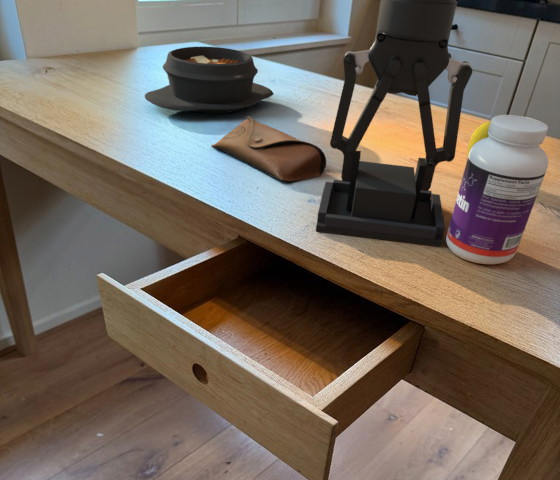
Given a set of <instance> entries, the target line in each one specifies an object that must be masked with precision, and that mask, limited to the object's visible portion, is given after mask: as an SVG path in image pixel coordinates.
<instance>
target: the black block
mask: <svg viewBox="0 0 560 480" xmlns="http://www.w3.org/2000/svg"><path fill="white" fill-rule="evenodd" d="M415 199H416V185H415V167H414V166H406V165H397V164H389V163H382V162H381V163H379V162H372V161H362V160H360V162H359V169H358V175H357V180H356V187H355V193H354V200H353V206H352V213H351V217H359V218H367V219H375V220H384V221H392V222H400V223H408V224H410V221H411V217H412V213H413V208H414V204H415Z"/></svg>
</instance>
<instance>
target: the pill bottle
mask: <svg viewBox="0 0 560 480" xmlns="http://www.w3.org/2000/svg"><path fill="white" fill-rule="evenodd" d="M490 121H491V123H490V126H489V130H488V135H489V137H488V138H484V139H482V140H480V141H478V142H476V143H475V144H474V145H473V146H472V148H471V150H470V152H469V156H468V158H467V159H466V163H465V166H464V170H463V174H462V178H461V180H460V181H461V182H460V185H459V189H458V192H457V196H456V200H455V204H454V207H453V210H452V215H451V217H450V221H449V225H448V229H447V233H446V238H445V243H446V245H447V247H448V248H449V250H450V251H451V252H452V253H453V254H454V255H456V256H457V257H459V258H460V259H462V260H465V261H468V262H471V263H476V264H481V265H498V264H499V265H500V264H504V263H506V262H508V261H510V260H511V259H513V257H514V256H516V254H517V252H518V249H519V246H520V244H521V240H522V238H523V235H524V233H525V229H526V227H527V224H528V221H529V219H530V216H531V214H532V211H533V208H534V205H535V202H536V199H537V197H538V195H539V191H540V189H541V186H542V184H543V181H544V178H545V175H546V173H547V170H548V167H549V157H548V155H547V153H546V151H545V150H544V149H543V148H542V147H540V146H541V145H542V144H543V143H544V141H545V139H546V136H547V132H548V130H549V127H548V125H547V124H546V123H544V122H543V121H540V120H537V119H535V118H533V117H532V118H531V117H527V116H522V115H515V114H499V115H495V116H493V117H492V118H491V120H490Z"/></svg>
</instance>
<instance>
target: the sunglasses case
mask: <svg viewBox="0 0 560 480" xmlns="http://www.w3.org/2000/svg"><path fill="white" fill-rule="evenodd" d="M245 117H246V118H245V120H243V121H242V122H240V123H239V124H238V125H237V126H235V128H232V130H231V131H229V132H227V134H225V135H224V136H223V137H221V138H220V139H219V140H218V141H217V142H216V143H214V144H211V145H210V147H211V148H214V149H216V150H219V151H220V152H223V153H226V154H228V155H229V156H231V157H233V158H235V159H237V160H238V161H240V162H243V163H245V164H247V165H248V166H250V167H251V168H253V169H254V170H257V171H258V172H261V173H263V174H265V175H267V176H269V177H271V178H274V179H277V180H279V181H281V182H287V183H289V182H301V181H305V180H309V179H313V178H317V177H321V175H322V174H324V172H325V170H326V167H327V158H326V157H327V156H326V154H325V152H324V151H323V150H322V149H321V148H320V147H319V146H317V145H316V144H313V143H311V142H308V141H304V140H301V139H298V138H296V137H294V136H292V135H290V134H288V133H286V132H283V131H281V130H279V129H277V128H274V127H271V126H269V125H266V124H264V123H262V122H260V121H257V120H255V119H253V118H252V117H251V116H249V115H246V116H245Z"/></svg>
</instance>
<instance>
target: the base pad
mask: <svg viewBox="0 0 560 480" xmlns="http://www.w3.org/2000/svg"><path fill="white" fill-rule="evenodd" d="M349 186H350V182H345V181H342V179H341V180H340V179H333V180H332V181H325V182H324V187H323V190H322V195H321V199H320V203H319V207H318V210H317V211H318V212H317V219H316V220H317V221H316V225H315V232H318V233H326V234H333V235H334V234H335V235H344V236H351V237H358V238H367V239H376V240H382V241H391V242H399V243H407V244H416V245H424V246H430V247H431V246H433V247H443V243H444V234H445V231H446V225H445V219H444V212H443V206H442V201H441V195H440V194H436V193H433V192H432V190H428V191H423V190H421V191H420V195H419V200H418V204H417V208H416V213H415V217H414V219H411V221H410V224H408V223H400V222H392V221H384V220H375V219H367V218H359V217H351V213H352V211H346V207H347V200H348V193H349Z"/></svg>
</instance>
